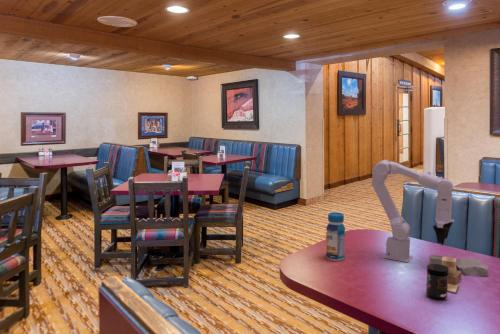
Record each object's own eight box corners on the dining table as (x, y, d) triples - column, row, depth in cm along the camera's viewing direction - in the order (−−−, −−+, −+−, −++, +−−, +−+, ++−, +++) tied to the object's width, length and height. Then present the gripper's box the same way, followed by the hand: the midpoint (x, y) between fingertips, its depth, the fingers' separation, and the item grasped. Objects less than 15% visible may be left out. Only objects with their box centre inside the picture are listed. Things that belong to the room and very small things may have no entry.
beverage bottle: (347, 261, 167) (347, 216, 164) (327, 261, 167) (327, 216, 164) (342, 254, 175) (343, 211, 172) (324, 254, 175) (324, 211, 173)
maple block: (441, 272, 145) (441, 260, 144) (443, 268, 149) (443, 256, 148) (454, 275, 142) (455, 262, 142) (456, 271, 146) (456, 258, 145)
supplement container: (435, 290, 137) (436, 262, 136) (451, 298, 131) (453, 269, 130) (421, 294, 135) (422, 265, 133) (437, 302, 129) (438, 272, 127)
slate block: (430, 270, 156) (430, 258, 155) (429, 266, 160) (429, 254, 159) (442, 271, 154) (443, 259, 153) (441, 267, 158) (441, 255, 157)
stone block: (463, 280, 150) (491, 276, 148) (461, 268, 149) (489, 264, 147) (453, 269, 161) (478, 266, 159) (451, 258, 161) (476, 255, 159)
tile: (435, 289, 138) (435, 287, 138) (439, 282, 144) (439, 281, 144) (456, 293, 134) (456, 292, 134) (459, 286, 140) (459, 285, 140)
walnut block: (435, 281, 146) (435, 272, 146) (441, 275, 151) (441, 266, 151) (455, 286, 141) (455, 277, 141) (460, 280, 146) (461, 271, 146)
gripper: (451, 213, 150) (450, 247, 151) (457, 206, 161) (455, 237, 163) (432, 211, 154) (430, 243, 156) (439, 204, 165) (437, 234, 167)
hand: (442, 240), depth 160 cm, fingers open, 7 cm apart
